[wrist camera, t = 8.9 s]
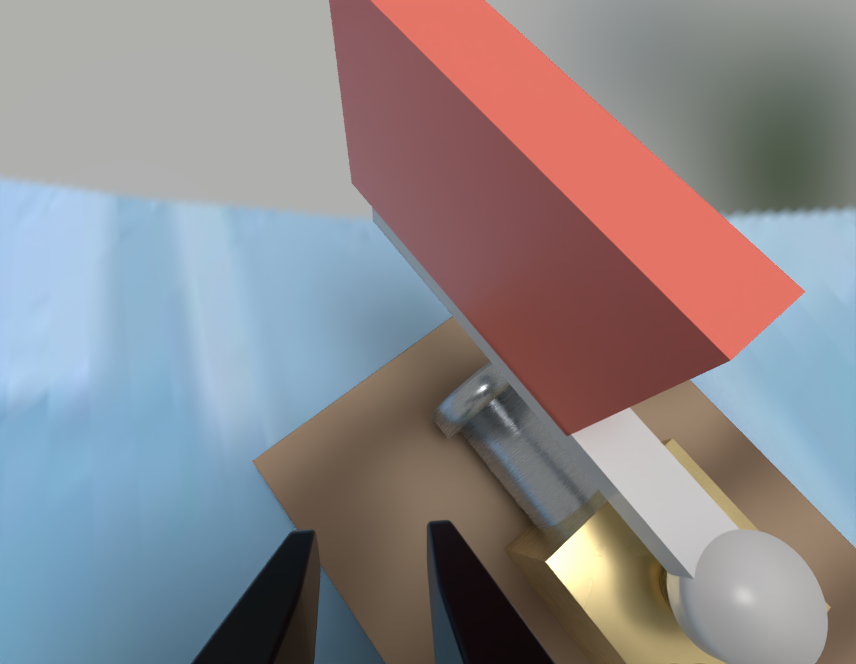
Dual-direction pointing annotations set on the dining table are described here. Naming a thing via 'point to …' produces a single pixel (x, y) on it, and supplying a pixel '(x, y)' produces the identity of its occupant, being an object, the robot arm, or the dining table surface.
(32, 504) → the dining table surface
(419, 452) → the mounting board
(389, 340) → the dining table surface
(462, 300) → the valve lever
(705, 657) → the ball valve
